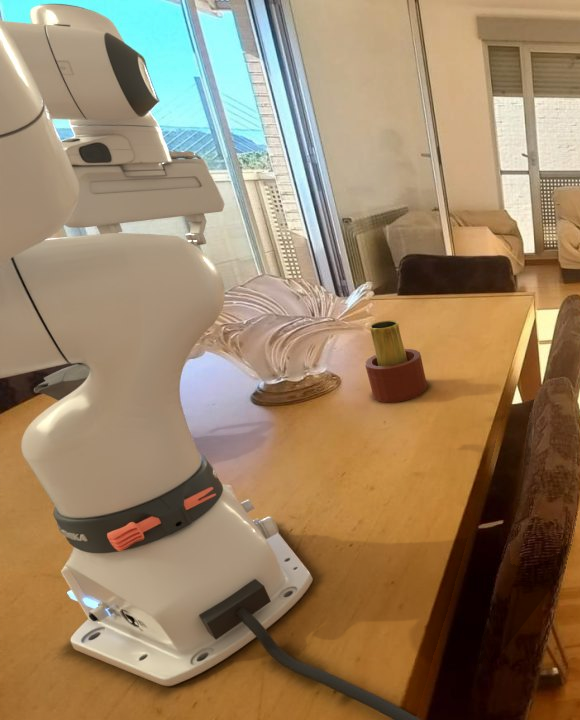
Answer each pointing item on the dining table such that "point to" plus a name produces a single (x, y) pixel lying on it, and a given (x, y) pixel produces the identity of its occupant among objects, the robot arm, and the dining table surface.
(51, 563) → the dining table surface
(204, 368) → the dining table surface
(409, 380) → the jar
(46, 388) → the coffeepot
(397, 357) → the bamboo tube section
